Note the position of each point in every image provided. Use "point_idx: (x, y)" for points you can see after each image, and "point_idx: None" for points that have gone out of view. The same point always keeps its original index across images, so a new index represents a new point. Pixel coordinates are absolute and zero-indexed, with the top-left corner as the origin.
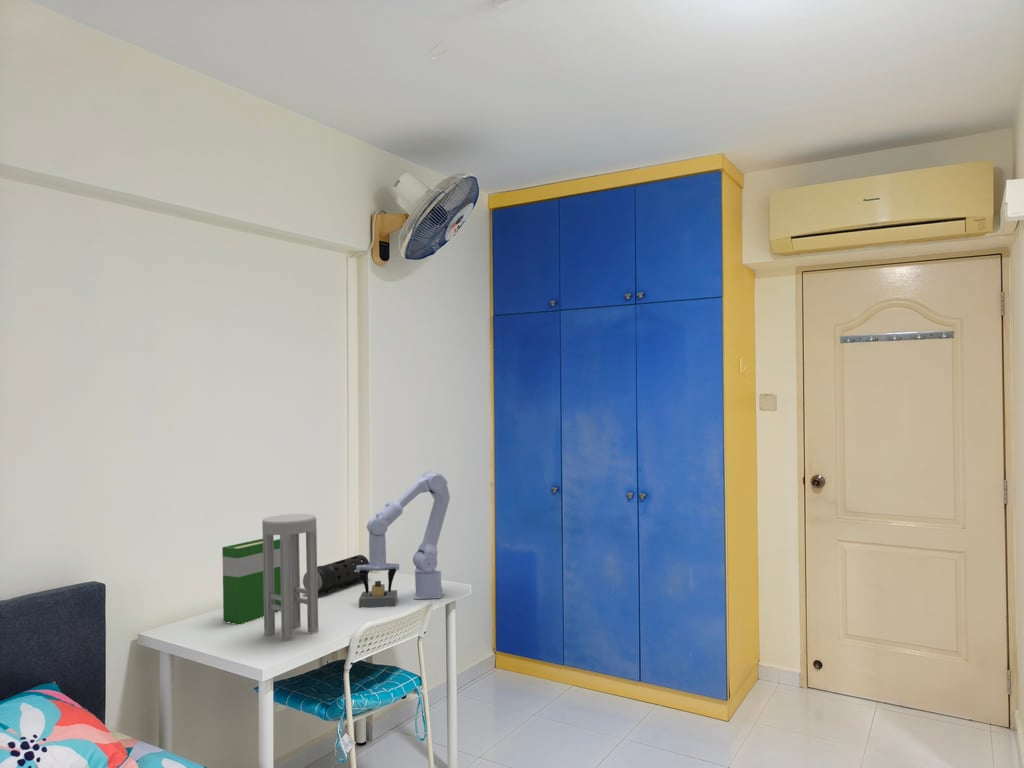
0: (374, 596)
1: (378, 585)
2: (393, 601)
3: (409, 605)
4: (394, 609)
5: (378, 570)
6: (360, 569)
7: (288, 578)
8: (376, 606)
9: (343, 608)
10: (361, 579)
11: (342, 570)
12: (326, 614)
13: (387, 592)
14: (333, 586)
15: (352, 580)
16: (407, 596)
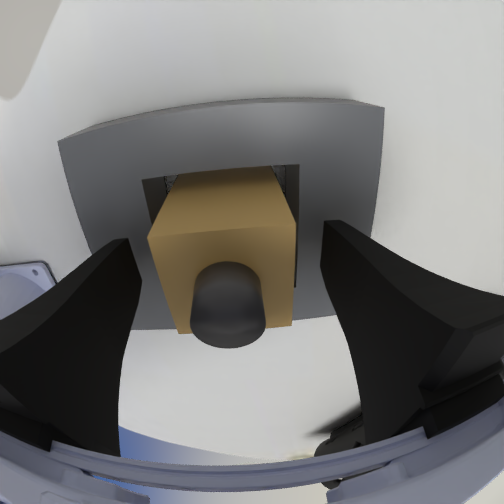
0: (253, 186)
1: (214, 271)
2: (82, 131)
3: (22, 154)
4: (78, 52)
5: (213, 469)
6: (496, 416)
7: None
8: (221, 101)
9: (439, 118)
10: (331, 434)
11: None
12: (489, 36)
13: None
14: None
15: (361, 422)
16: None
